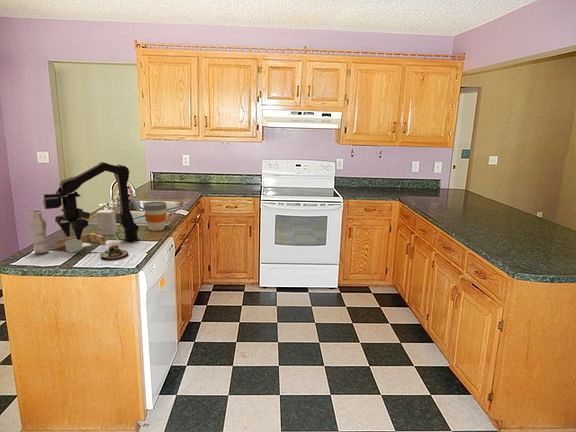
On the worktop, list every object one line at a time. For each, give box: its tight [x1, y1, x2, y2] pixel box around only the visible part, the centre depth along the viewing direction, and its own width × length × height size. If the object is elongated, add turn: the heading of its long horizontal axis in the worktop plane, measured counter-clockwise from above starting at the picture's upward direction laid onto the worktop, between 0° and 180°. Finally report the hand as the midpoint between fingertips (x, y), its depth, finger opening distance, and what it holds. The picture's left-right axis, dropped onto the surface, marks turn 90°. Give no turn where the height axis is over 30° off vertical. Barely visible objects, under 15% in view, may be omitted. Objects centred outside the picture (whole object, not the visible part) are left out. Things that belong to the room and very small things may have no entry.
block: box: [65, 239, 84, 253], centre depth 192 cm, size 4×6×5 cm, turn 147°
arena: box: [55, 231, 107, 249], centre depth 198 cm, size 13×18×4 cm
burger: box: [100, 240, 129, 260], centre depth 184 cm, size 12×12×8 cm
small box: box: [95, 209, 118, 236], centre depth 219 cm, size 8×6×13 cm
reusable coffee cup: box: [143, 201, 167, 232], centre depth 231 cm, size 13×13×15 cm
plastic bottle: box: [29, 210, 50, 255], centre depth 185 cm, size 6×7×20 cm
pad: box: [82, 242, 92, 248], centre depth 200 cm, size 6×6×1 cm
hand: (73, 238), depth 191 cm, fingers open, 9 cm apart
